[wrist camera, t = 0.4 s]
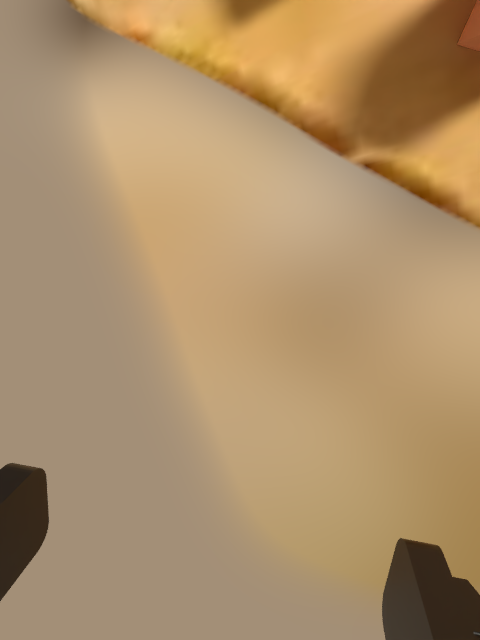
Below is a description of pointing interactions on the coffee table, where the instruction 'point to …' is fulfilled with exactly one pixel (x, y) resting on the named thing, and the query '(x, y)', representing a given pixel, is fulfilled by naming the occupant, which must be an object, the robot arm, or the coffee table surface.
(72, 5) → the coffee table surface
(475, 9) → the tall block
